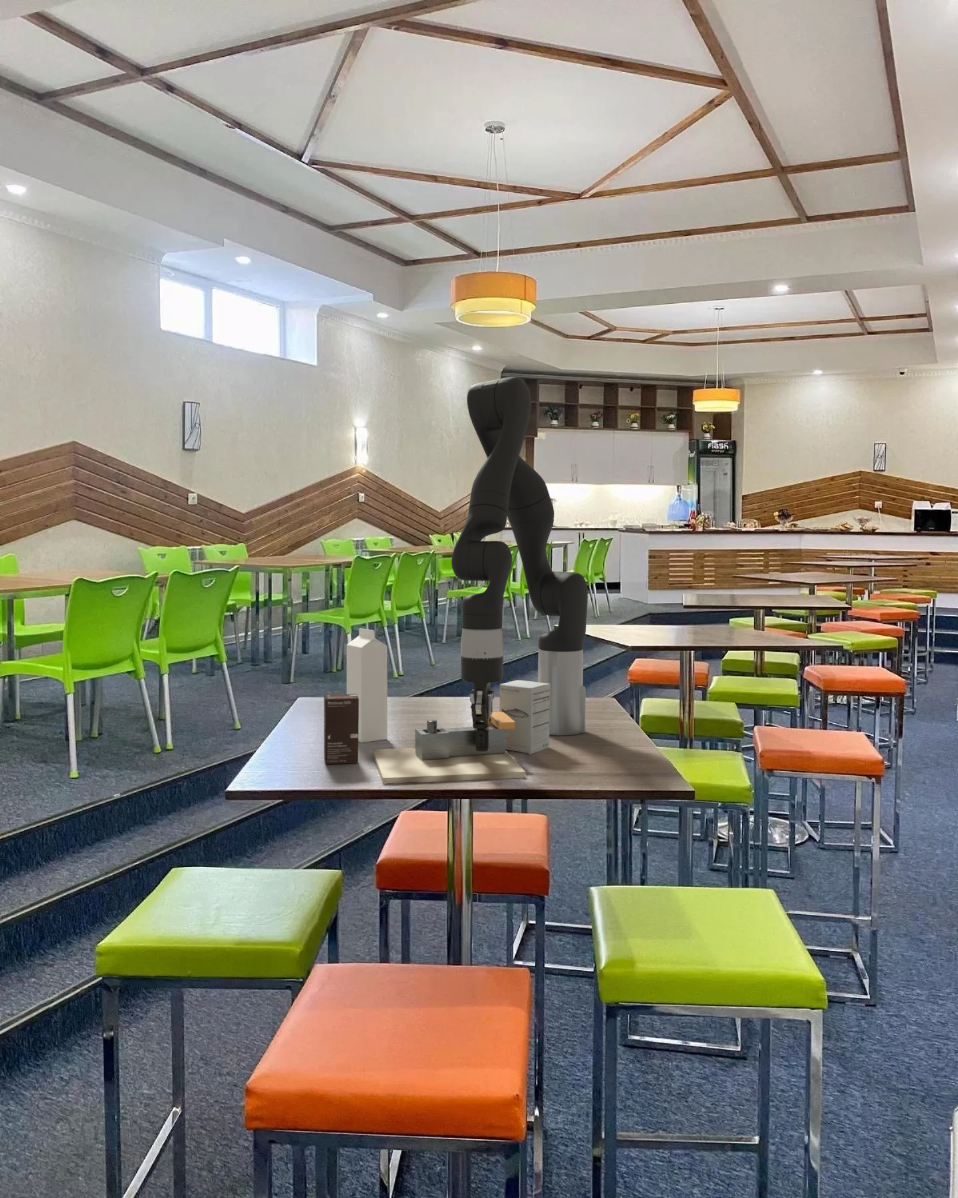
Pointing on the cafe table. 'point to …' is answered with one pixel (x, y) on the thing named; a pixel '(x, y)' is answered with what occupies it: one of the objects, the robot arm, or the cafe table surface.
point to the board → (443, 767)
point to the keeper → (502, 721)
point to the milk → (368, 684)
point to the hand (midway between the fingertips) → (482, 750)
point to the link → (456, 742)
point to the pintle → (432, 728)
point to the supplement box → (526, 715)
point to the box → (341, 728)
